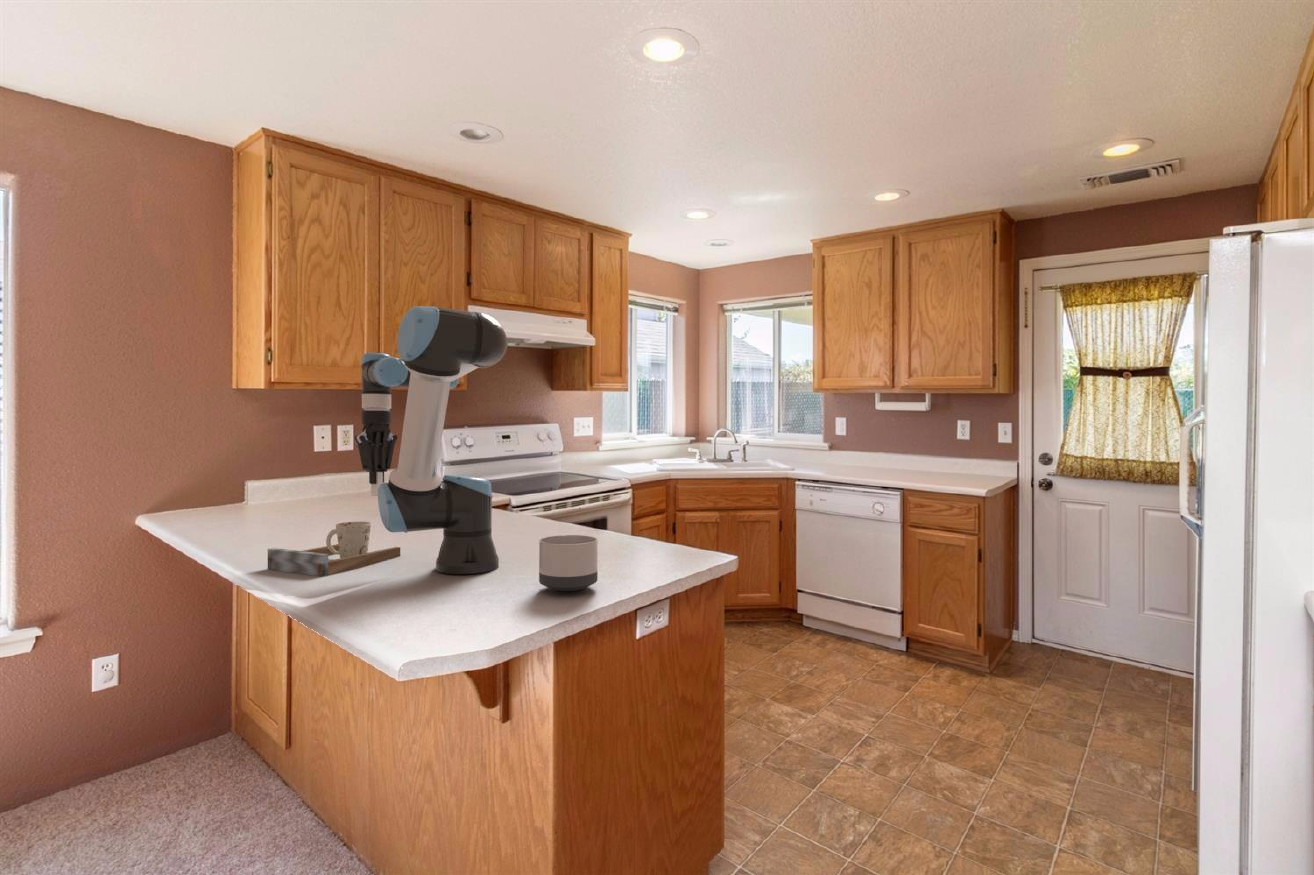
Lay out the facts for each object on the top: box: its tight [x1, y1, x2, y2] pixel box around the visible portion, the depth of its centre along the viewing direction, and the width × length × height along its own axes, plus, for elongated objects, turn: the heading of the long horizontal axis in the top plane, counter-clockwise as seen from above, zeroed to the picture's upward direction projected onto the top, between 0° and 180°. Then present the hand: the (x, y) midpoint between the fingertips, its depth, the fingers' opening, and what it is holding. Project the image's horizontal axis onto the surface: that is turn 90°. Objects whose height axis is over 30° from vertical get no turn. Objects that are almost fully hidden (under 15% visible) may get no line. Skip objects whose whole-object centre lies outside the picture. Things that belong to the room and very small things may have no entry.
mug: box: [325, 521, 372, 559], centre depth 173 cm, size 8×13×10 cm, turn 78°
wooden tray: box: [267, 543, 401, 577], centre depth 170 cm, size 19×24×5 cm
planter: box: [538, 534, 599, 592], centre depth 146 cm, size 13×13×10 cm
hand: (376, 495), depth 182 cm, fingers closed
